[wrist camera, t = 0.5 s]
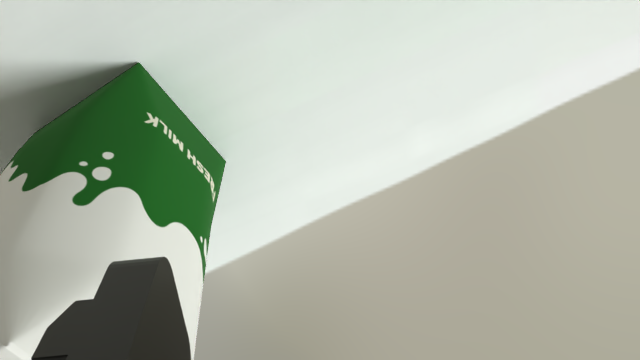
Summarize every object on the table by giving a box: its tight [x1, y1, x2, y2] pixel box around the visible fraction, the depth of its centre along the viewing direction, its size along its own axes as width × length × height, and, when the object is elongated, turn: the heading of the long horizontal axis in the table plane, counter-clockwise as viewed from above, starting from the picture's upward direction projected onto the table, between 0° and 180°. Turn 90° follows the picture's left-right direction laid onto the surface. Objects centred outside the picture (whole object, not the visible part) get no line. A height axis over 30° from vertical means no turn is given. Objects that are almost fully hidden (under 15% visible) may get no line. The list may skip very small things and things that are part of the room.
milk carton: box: [0, 63, 226, 360], centre depth 24 cm, size 9×9×20 cm
